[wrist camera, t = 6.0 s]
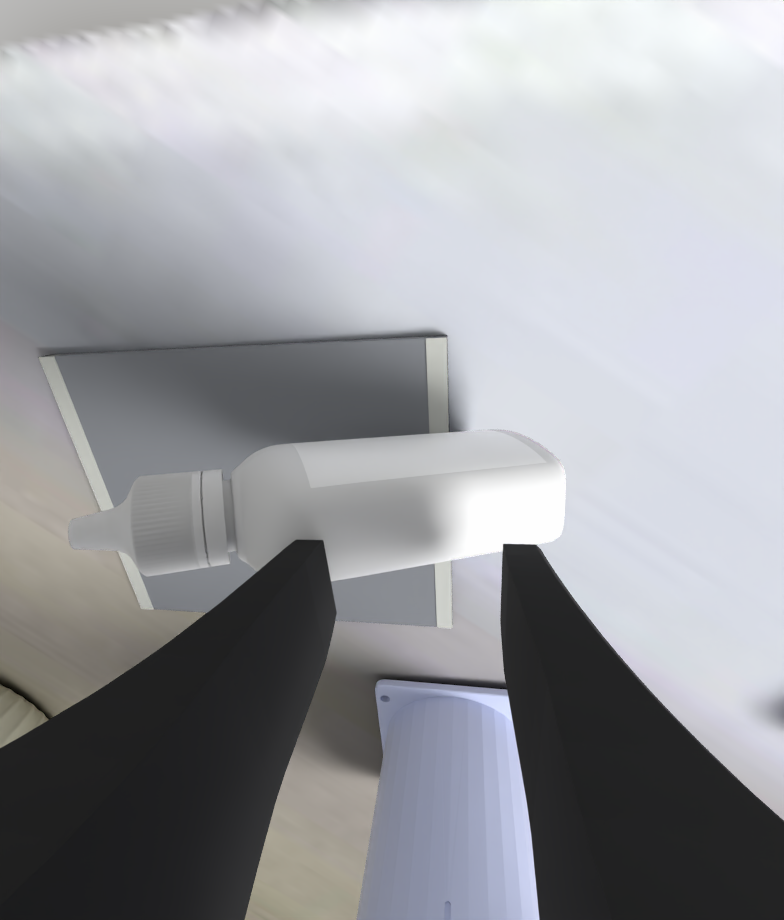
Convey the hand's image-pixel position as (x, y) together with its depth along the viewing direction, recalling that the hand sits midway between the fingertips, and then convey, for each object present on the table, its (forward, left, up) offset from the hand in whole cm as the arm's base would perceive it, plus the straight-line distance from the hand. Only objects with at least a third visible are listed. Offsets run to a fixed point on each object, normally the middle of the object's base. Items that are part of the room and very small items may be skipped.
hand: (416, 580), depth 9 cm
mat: (-3, +8, -8) cm, 12 cm away
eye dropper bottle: (-1, -3, -6) cm, 7 cm away
